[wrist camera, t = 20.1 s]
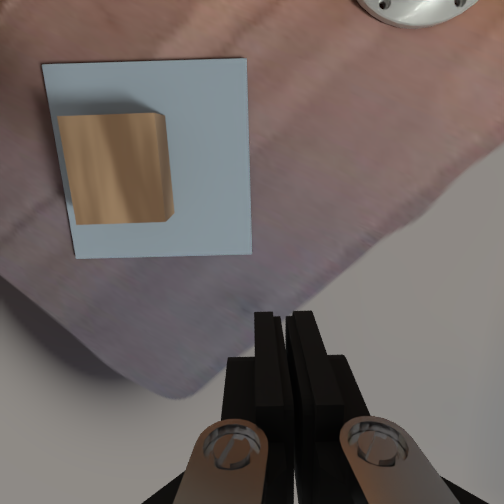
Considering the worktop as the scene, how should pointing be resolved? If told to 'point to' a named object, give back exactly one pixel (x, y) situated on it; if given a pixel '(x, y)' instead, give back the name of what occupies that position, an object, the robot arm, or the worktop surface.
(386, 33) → the worktop surface
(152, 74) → the rubber mat
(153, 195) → the wooden block
